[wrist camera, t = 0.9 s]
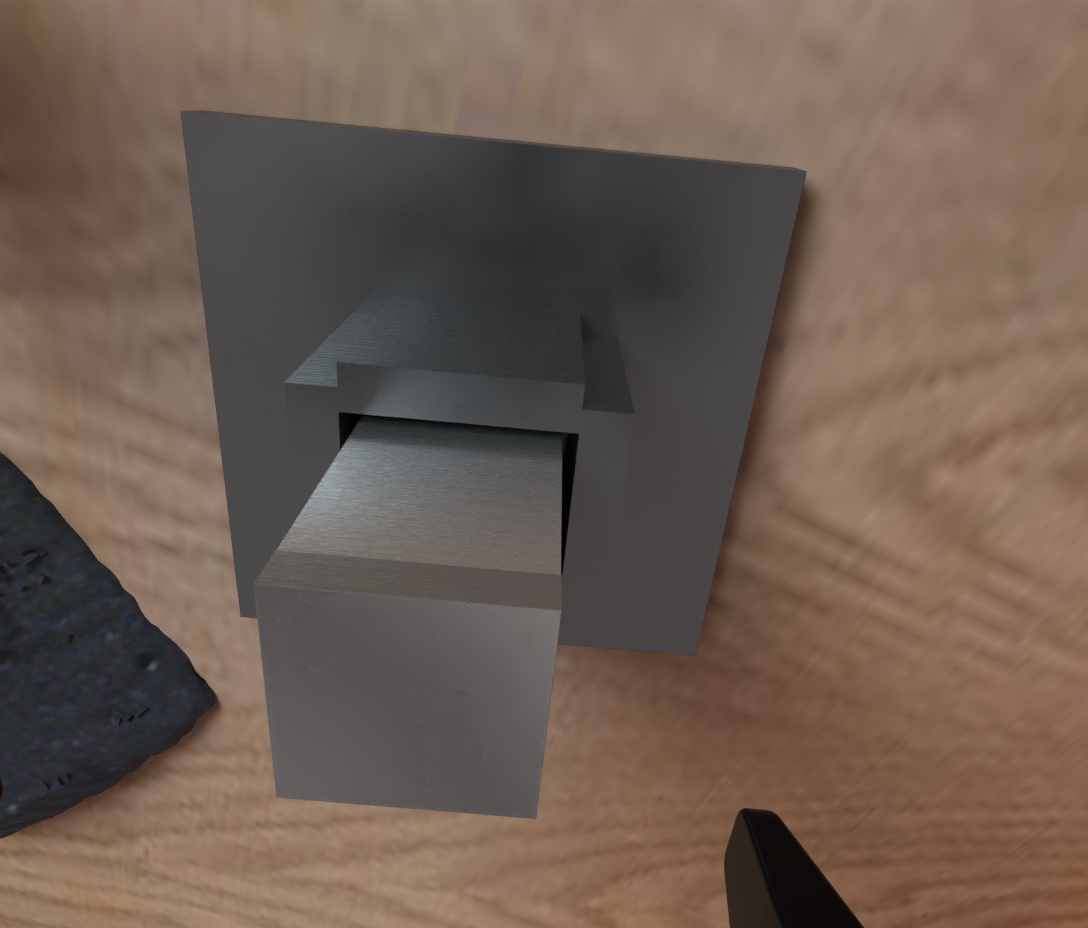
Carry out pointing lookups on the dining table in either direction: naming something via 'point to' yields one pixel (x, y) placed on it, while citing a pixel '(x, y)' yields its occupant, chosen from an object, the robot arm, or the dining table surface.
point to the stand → (494, 332)
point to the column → (418, 620)
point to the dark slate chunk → (75, 667)
